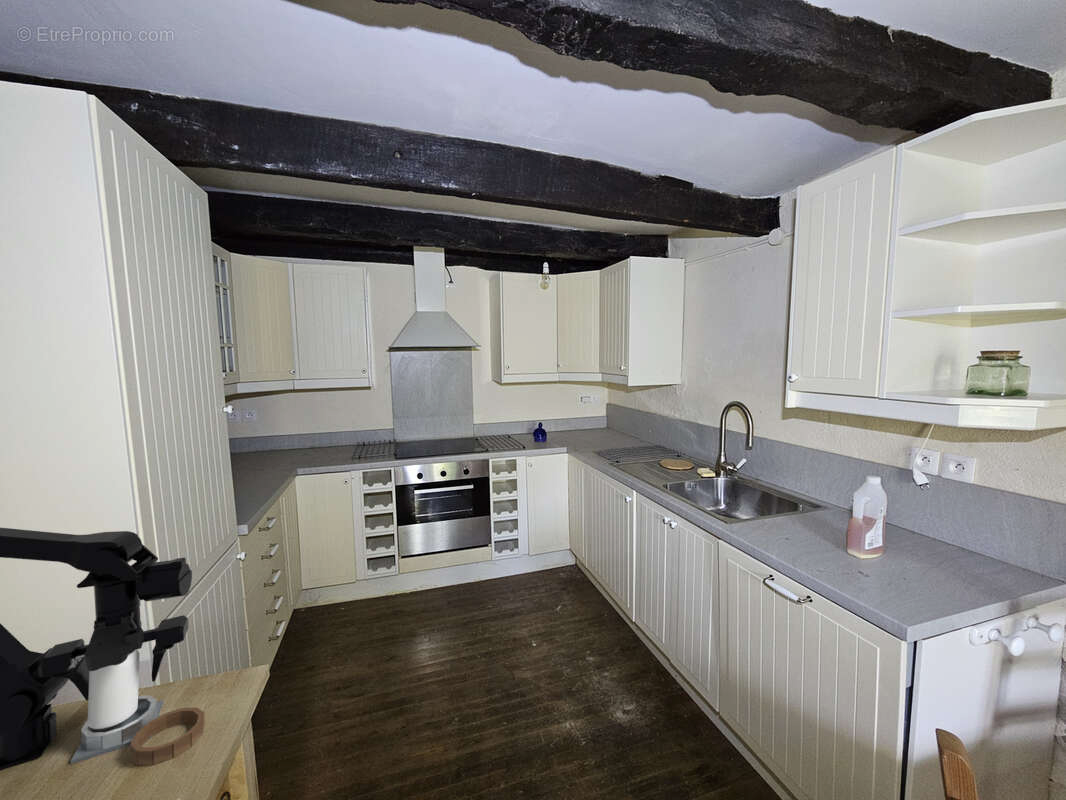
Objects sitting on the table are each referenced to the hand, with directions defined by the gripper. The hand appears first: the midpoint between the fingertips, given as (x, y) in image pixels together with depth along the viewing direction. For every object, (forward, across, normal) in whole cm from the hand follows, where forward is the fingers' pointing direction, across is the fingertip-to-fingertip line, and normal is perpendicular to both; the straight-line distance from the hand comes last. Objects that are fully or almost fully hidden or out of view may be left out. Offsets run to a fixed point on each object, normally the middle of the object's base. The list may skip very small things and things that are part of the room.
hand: (122, 689), depth 78 cm
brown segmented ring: (+8, +8, -7) cm, 13 cm away
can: (+5, -2, 0) cm, 5 cm away
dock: (+8, 0, 0) cm, 8 cm away
